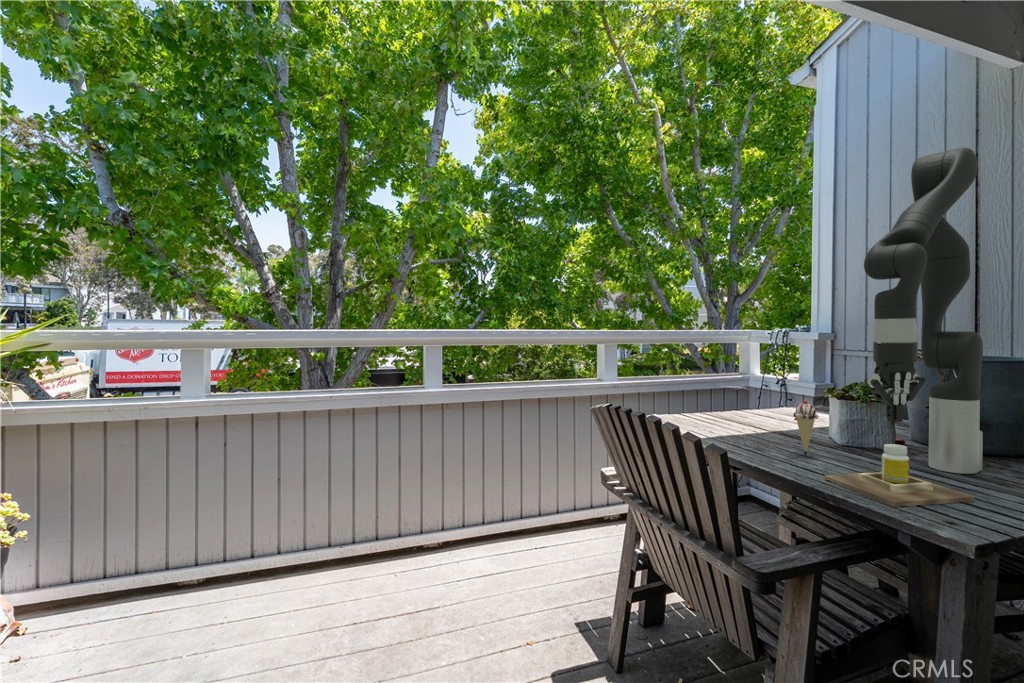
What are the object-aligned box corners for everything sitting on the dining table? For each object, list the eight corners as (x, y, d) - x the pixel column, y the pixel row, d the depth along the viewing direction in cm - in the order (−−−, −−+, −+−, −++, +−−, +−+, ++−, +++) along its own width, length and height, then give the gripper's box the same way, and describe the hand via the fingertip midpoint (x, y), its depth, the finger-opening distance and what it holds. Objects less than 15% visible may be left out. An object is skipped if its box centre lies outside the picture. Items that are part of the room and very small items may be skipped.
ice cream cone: (822, 459, 134) (822, 402, 133) (800, 459, 134) (800, 402, 133) (809, 454, 139) (810, 399, 139) (788, 454, 139) (789, 399, 139)
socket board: (894, 475, 119) (894, 464, 119) (974, 501, 101) (974, 489, 101) (824, 479, 116) (824, 468, 116) (894, 507, 98) (894, 494, 98)
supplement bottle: (914, 489, 106) (914, 449, 106) (888, 488, 107) (888, 448, 106) (901, 482, 110) (901, 443, 110) (877, 481, 111) (877, 443, 111)
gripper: (906, 338, 112) (906, 416, 113) (852, 340, 110) (852, 420, 111) (939, 339, 105) (939, 423, 105) (882, 341, 103) (882, 427, 104)
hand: (894, 421), depth 108 cm, fingers closed
